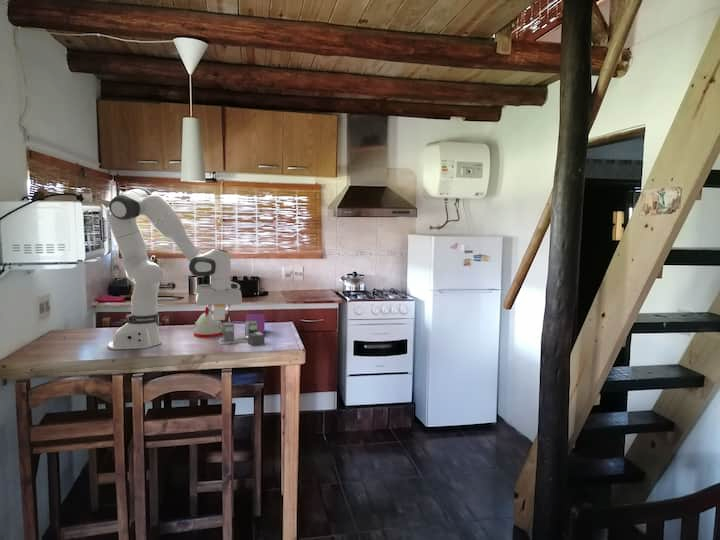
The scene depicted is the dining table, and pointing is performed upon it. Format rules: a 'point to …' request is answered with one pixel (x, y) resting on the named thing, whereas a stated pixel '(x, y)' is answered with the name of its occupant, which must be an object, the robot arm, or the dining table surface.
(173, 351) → the dining table surface
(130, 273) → the robot arm
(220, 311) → the loose module
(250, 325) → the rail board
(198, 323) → the white and red dome
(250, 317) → the mounting bracket
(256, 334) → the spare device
